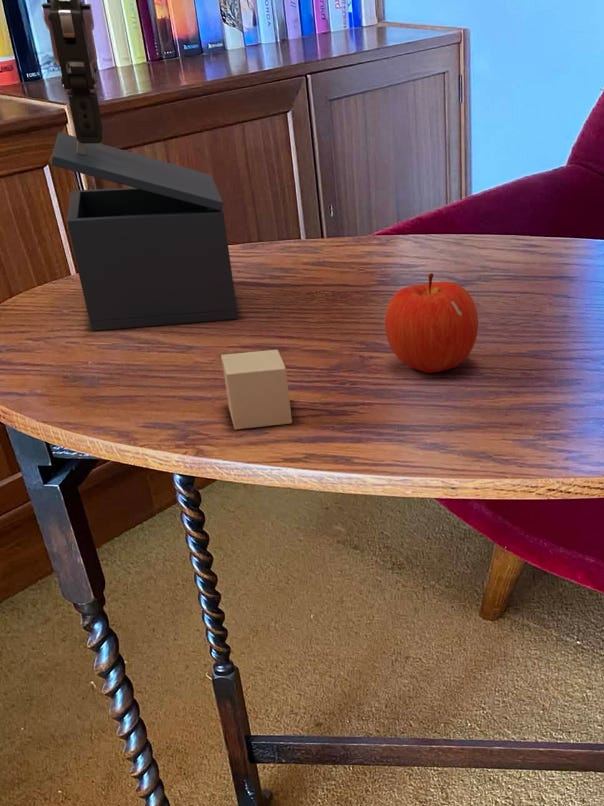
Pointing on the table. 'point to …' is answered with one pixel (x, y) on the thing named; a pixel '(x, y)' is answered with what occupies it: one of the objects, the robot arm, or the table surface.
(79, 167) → the lid
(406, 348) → the apple
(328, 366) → the table surface
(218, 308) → the chest
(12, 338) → the table surface
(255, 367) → the block
